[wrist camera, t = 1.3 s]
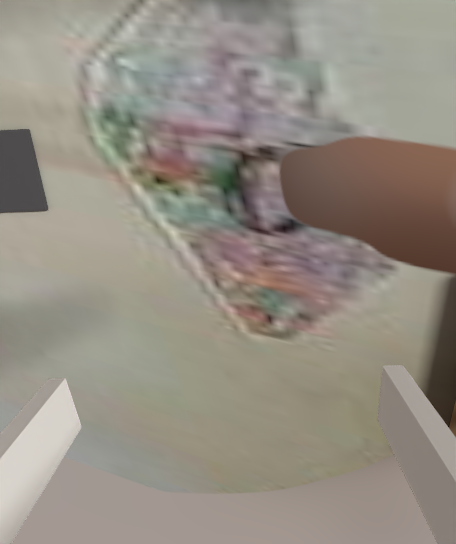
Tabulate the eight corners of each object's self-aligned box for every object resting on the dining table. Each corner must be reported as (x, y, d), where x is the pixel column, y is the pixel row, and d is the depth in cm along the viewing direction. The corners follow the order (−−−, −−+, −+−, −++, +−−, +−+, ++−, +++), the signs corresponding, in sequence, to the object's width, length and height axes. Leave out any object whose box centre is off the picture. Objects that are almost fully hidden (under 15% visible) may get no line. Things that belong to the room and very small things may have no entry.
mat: (-46, 133, 36) (-51, 133, 36) (29, 129, 36) (26, 129, 35) (-21, 212, 39) (-25, 213, 39) (48, 209, 39) (45, 210, 38)
